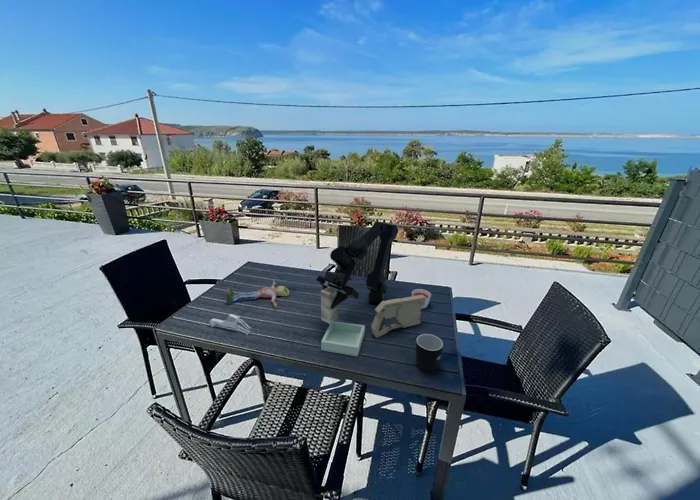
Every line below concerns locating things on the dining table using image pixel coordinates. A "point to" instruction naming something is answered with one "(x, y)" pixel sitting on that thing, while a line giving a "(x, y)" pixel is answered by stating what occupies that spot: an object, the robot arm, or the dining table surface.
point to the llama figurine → (230, 322)
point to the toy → (258, 294)
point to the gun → (397, 314)
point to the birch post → (328, 305)
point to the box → (343, 338)
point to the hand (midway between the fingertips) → (326, 306)
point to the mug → (428, 352)
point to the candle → (424, 293)
